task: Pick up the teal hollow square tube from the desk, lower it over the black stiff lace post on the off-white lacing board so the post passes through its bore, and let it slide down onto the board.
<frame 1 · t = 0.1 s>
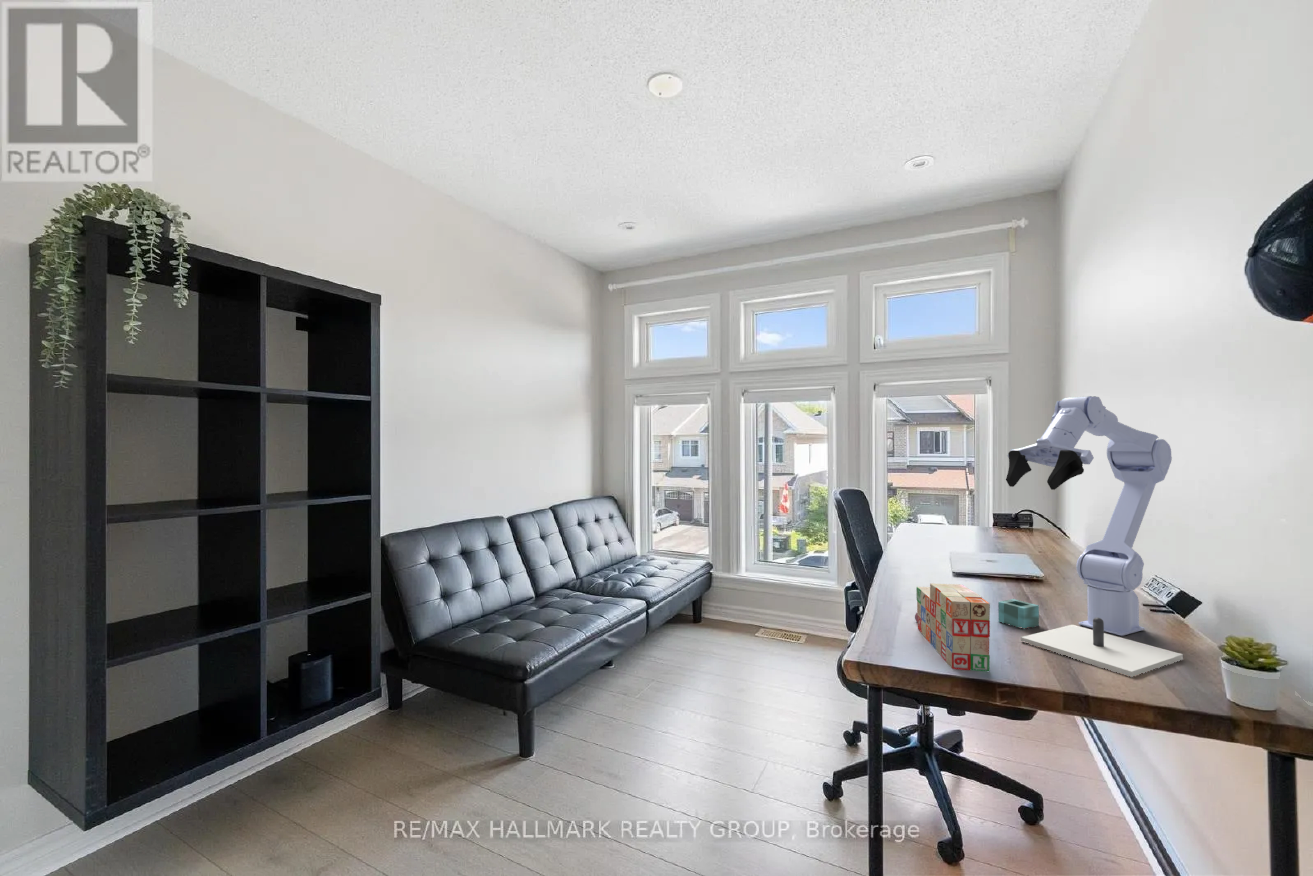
hand: (1029, 484, 104), 32 cm above the table, tool tilted 50°, fingers open, 7 cm apart
stack of blocks: (949, 649, 103), on the table
teal hollow square tube: (1018, 623, 117), on the table
lacing board: (1098, 650, 102), on the table
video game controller: (939, 623, 118), on the table
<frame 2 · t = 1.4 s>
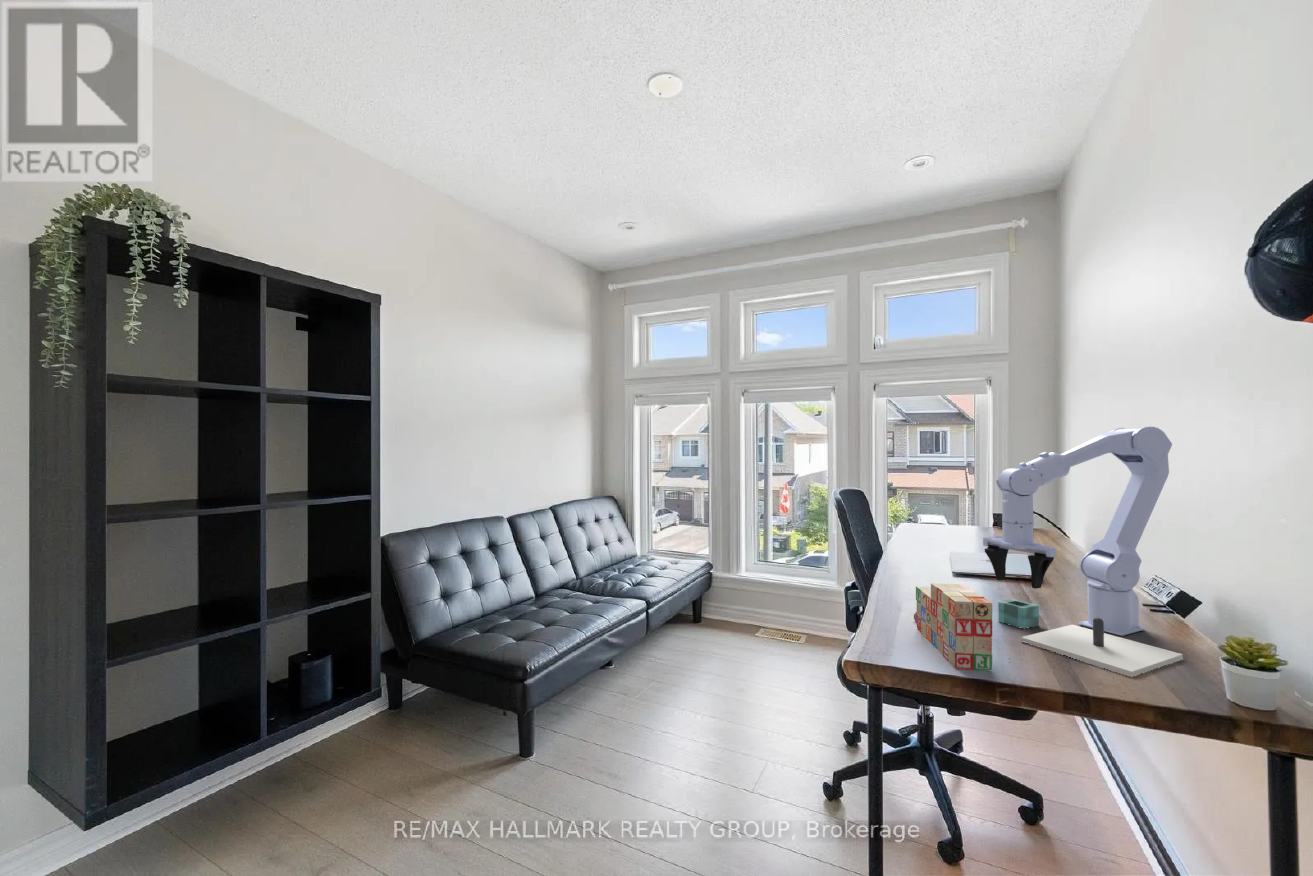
hand: (1018, 583, 118), 9 cm above the table, tool pointing down, fingers open, 7 cm apart
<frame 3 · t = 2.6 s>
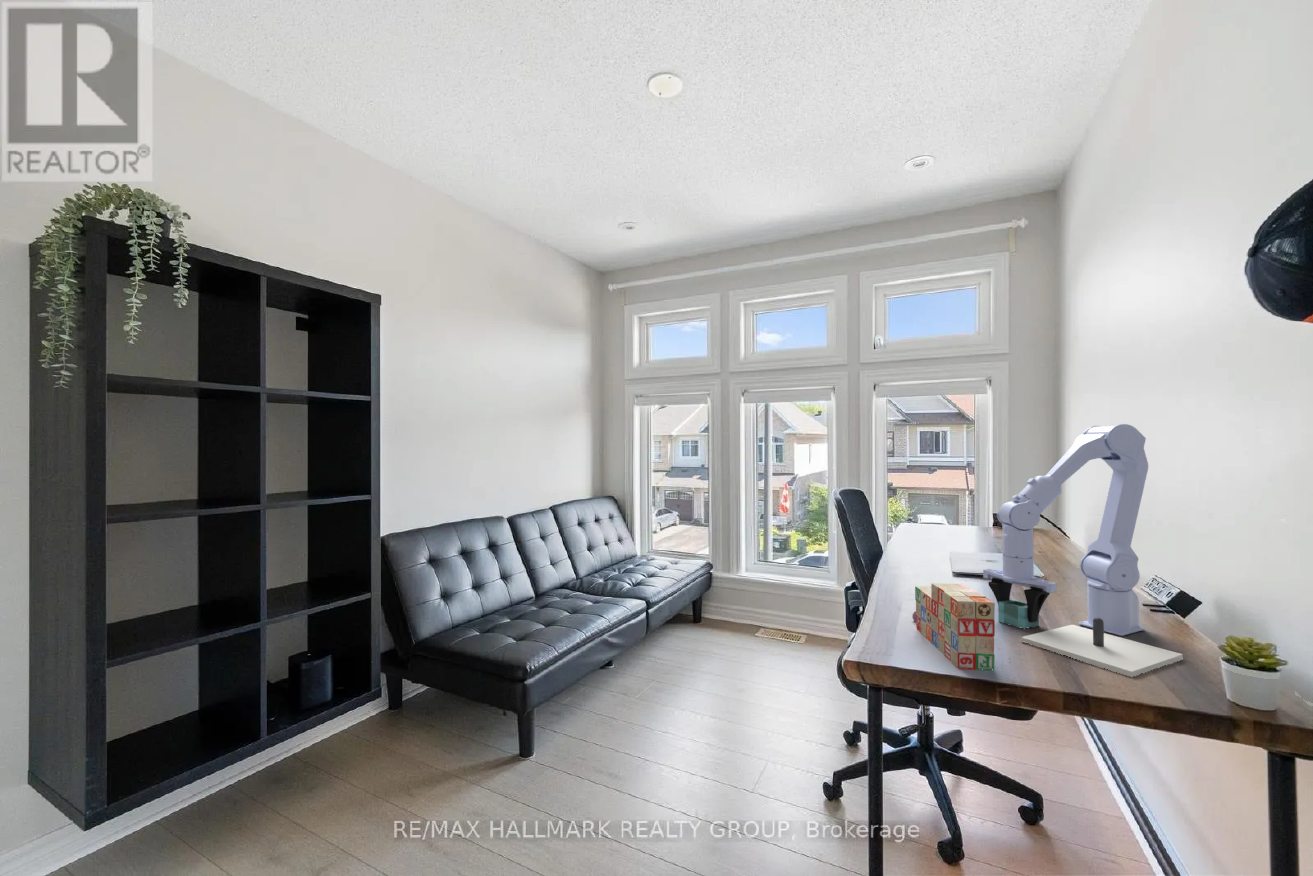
hand: (1018, 617, 117), 1 cm above the table, tool pointing down, fingers closed on teal hollow square tube, 5 cm apart
teal hollow square tube: (1018, 623, 117), on the table, touching gripper
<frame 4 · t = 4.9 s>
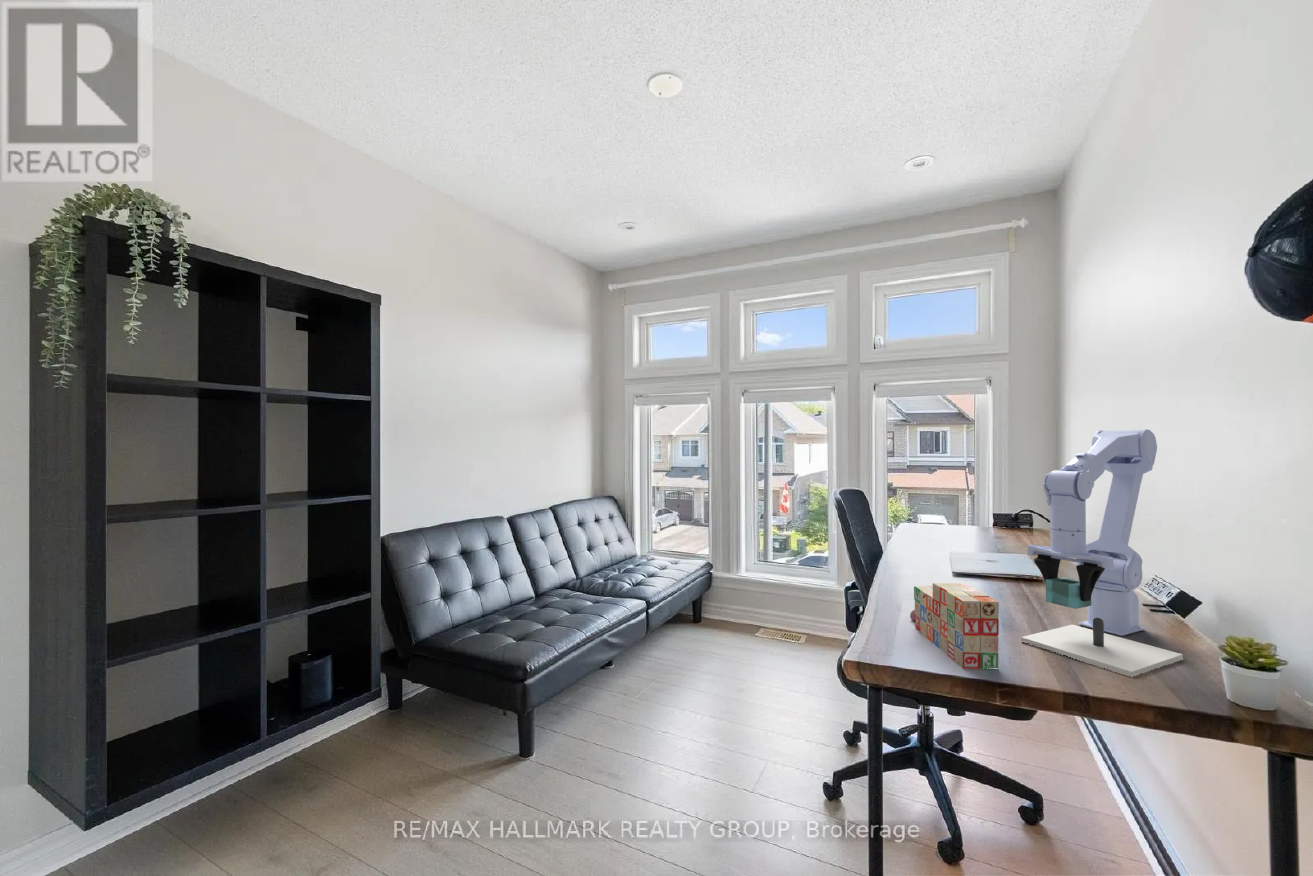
hand: (1068, 596, 107), 9 cm above the table, tool pointing down, fingers closed on teal hollow square tube, 5 cm apart
teal hollow square tube: (1068, 603, 107), point 7 cm above the table, touching gripper
when the fingers open (4 cm above the table, at t = 7.4 s): teal hollow square tube drops 2 cm, resting on lacing board.
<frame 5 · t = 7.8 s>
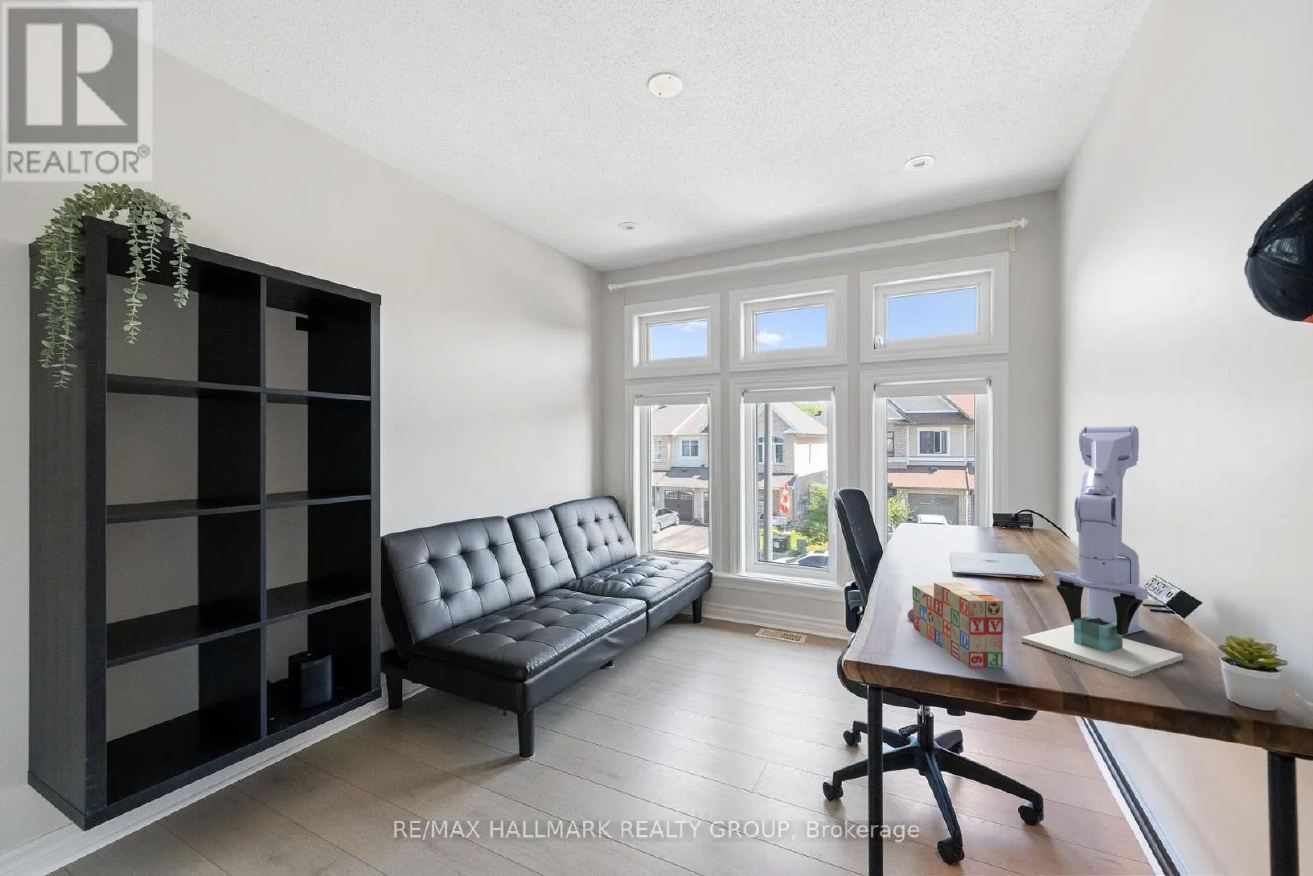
hand: (1098, 627, 102), 4 cm above the table, tool pointing down, fingers open, 7 cm apart
teal hollow square tube: (1098, 645, 102), point 1 cm above the table, touching lacing board
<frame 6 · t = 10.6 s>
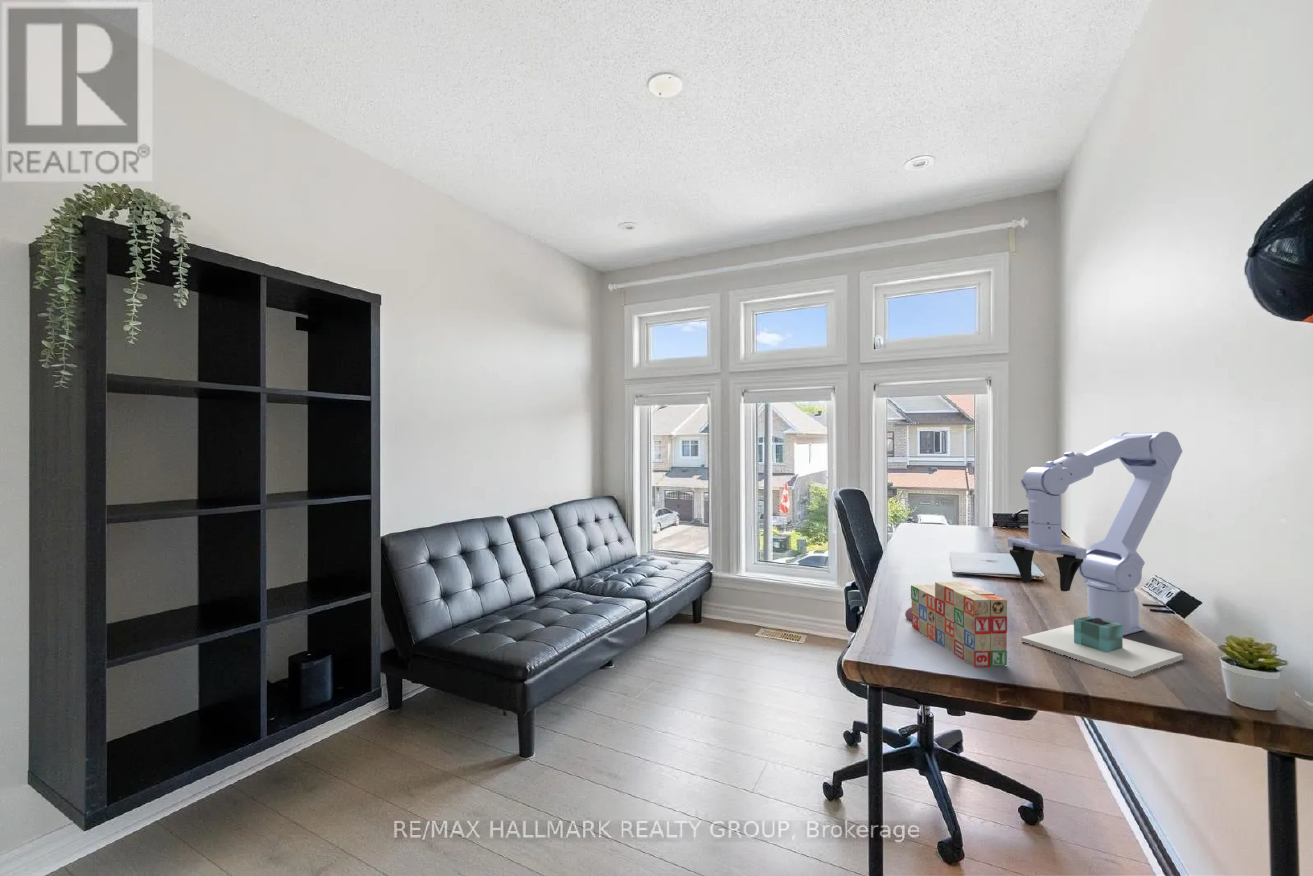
hand: (1045, 586, 113), 9 cm above the table, tool pointing down, fingers open, 7 cm apart
at the end: teal hollow square tube 0.1 cm off-centre on the lacing board, point 1.0 cm above the lacing board's base; the gripper is holding nothing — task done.
